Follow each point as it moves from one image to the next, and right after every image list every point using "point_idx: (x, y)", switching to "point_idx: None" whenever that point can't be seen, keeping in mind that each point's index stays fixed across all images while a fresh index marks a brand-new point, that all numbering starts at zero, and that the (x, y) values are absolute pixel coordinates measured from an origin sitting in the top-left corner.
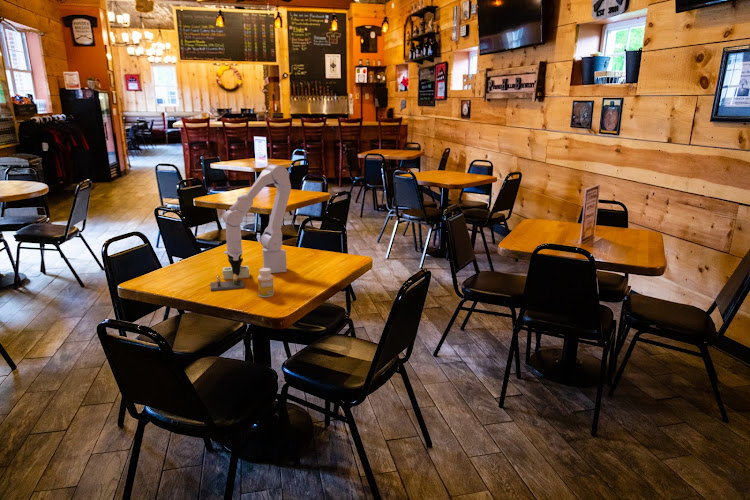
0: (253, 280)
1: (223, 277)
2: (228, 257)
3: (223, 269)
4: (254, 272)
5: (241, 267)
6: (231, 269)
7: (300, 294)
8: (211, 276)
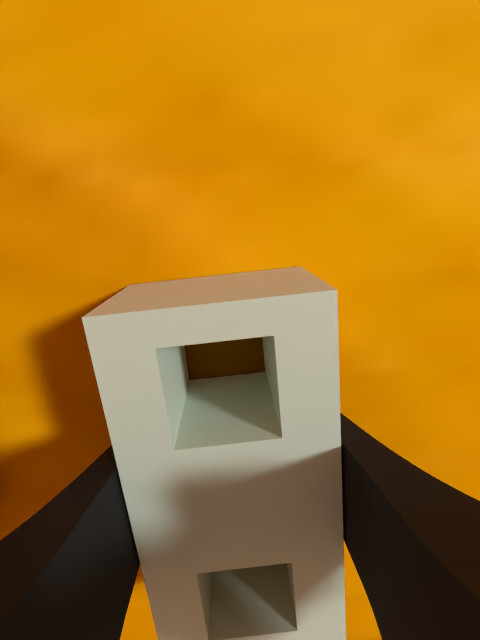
0: None
1: (121, 290)
2: (476, 593)
3: (189, 318)
4: (347, 581)
5: (291, 569)
6: (168, 454)
7: None
8: (313, 88)
